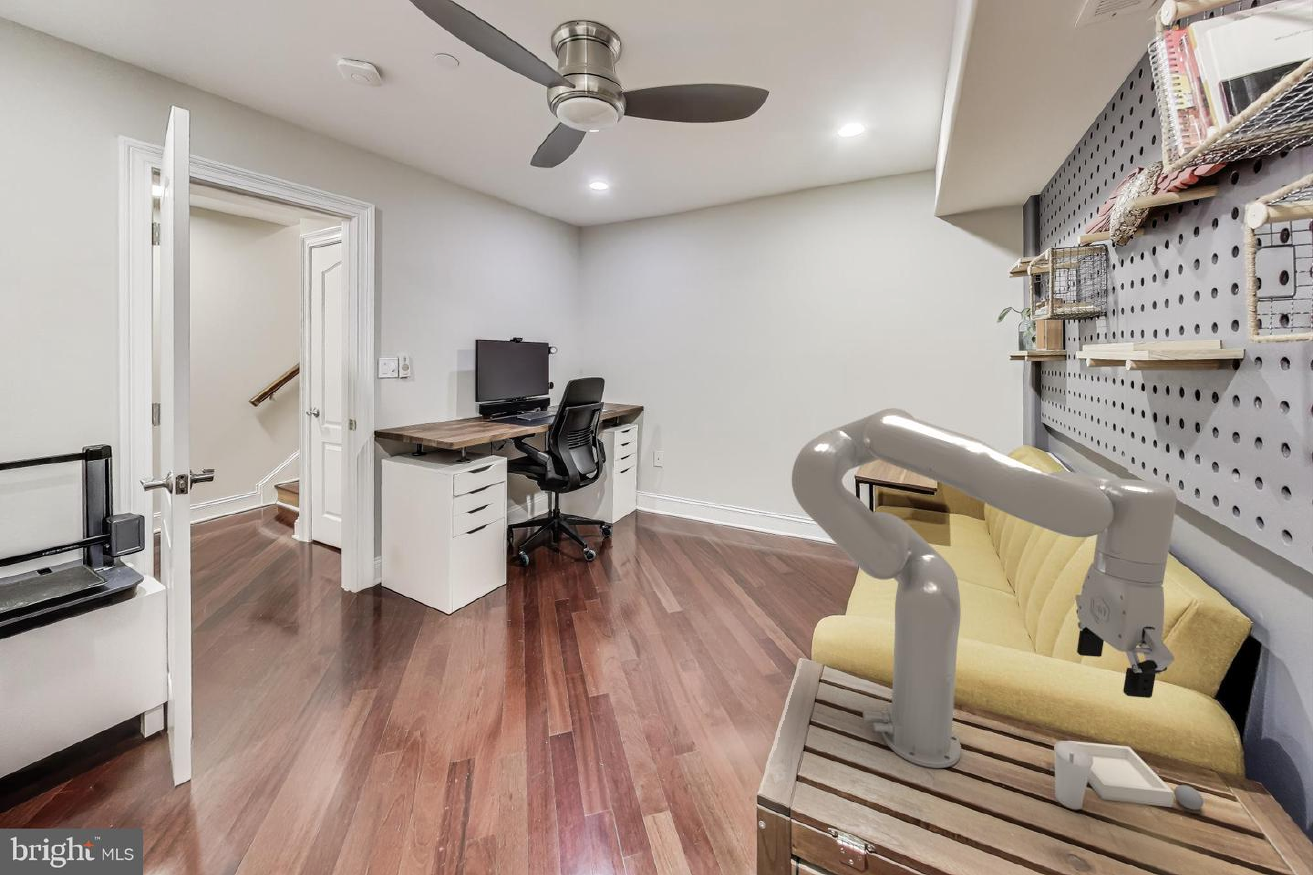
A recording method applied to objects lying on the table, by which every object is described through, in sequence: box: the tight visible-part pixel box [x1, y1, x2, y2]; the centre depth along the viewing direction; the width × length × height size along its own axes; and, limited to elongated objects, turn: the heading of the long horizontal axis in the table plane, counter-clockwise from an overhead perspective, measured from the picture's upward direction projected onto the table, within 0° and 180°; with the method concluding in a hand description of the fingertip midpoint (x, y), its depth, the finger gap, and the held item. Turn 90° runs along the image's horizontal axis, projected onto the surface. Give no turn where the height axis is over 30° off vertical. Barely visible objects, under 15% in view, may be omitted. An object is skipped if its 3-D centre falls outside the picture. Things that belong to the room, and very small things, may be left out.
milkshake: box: [1053, 740, 1093, 811], centre depth 76 cm, size 4×5×10 cm
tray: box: [1066, 740, 1175, 808], centre depth 81 cm, size 9×9×2 cm
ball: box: [1173, 784, 1204, 810], centre depth 76 cm, size 3×3×3 cm
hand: (1111, 674), depth 75 cm, fingers open, 9 cm apart
